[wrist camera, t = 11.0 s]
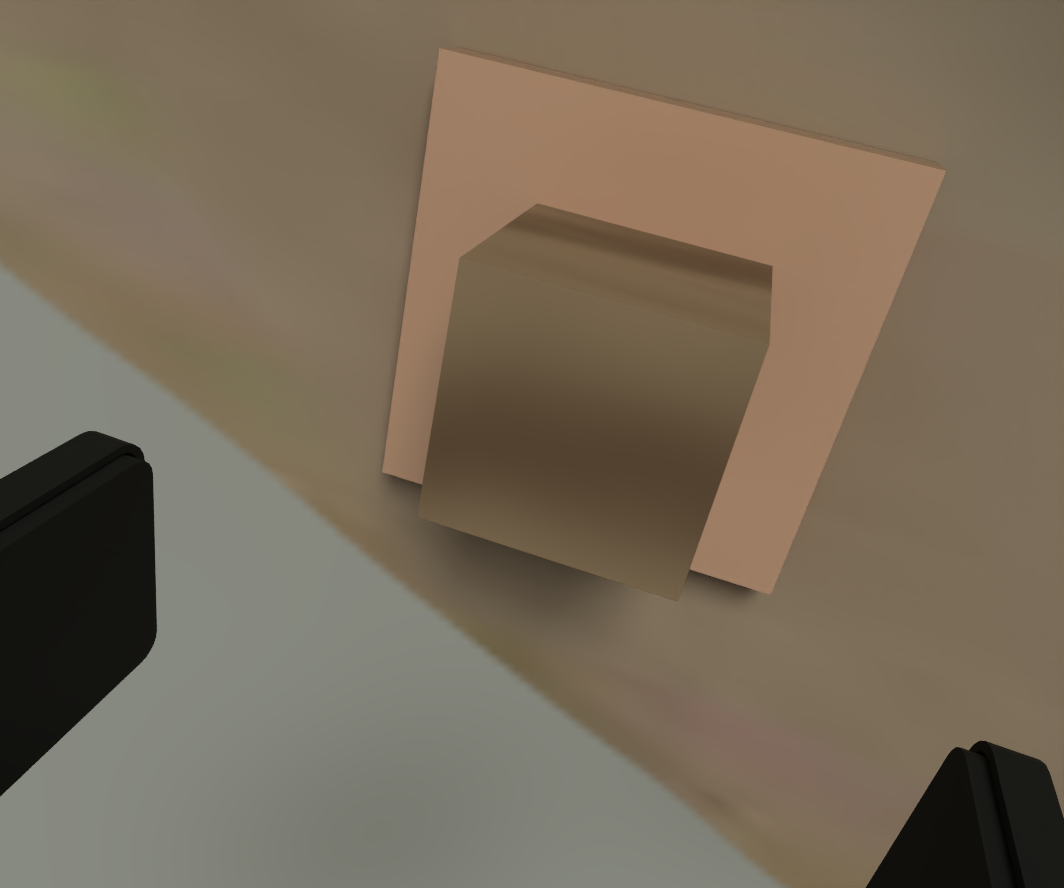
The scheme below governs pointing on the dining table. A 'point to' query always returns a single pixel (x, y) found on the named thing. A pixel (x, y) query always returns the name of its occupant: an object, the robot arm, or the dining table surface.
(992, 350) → the dining table surface
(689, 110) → the terracotta tile
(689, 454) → the walnut cube
